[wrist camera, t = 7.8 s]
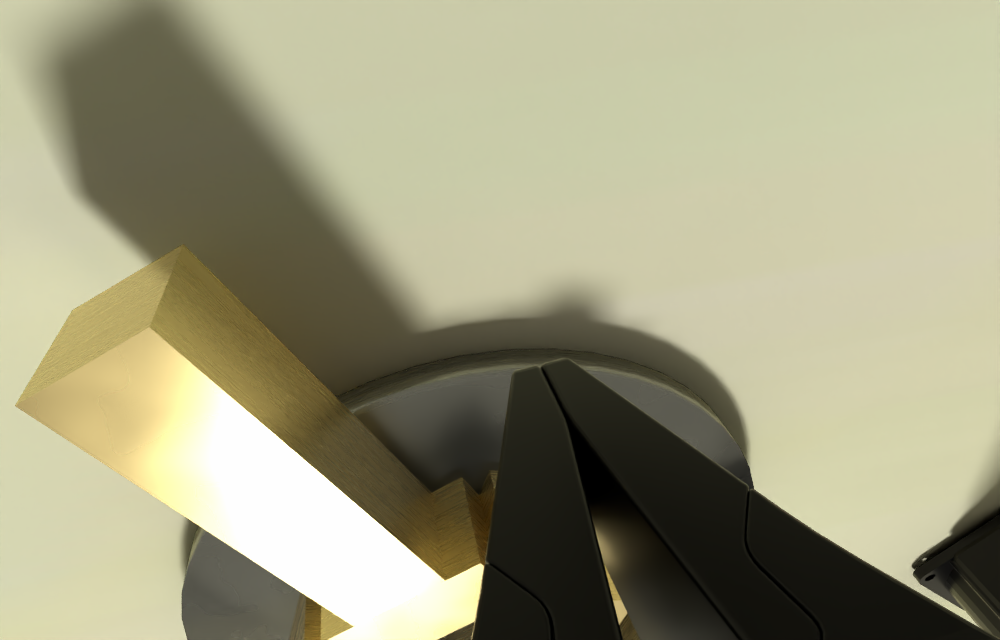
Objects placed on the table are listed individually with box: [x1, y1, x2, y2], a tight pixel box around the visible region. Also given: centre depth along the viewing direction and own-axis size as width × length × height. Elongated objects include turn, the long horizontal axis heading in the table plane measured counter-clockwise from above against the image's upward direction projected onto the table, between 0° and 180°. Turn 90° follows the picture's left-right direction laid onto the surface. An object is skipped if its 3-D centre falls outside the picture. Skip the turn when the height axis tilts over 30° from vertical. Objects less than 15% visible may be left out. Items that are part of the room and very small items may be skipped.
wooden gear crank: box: [15, 244, 640, 640], centre depth 16 cm, size 20×12×4 cm, turn 27°
